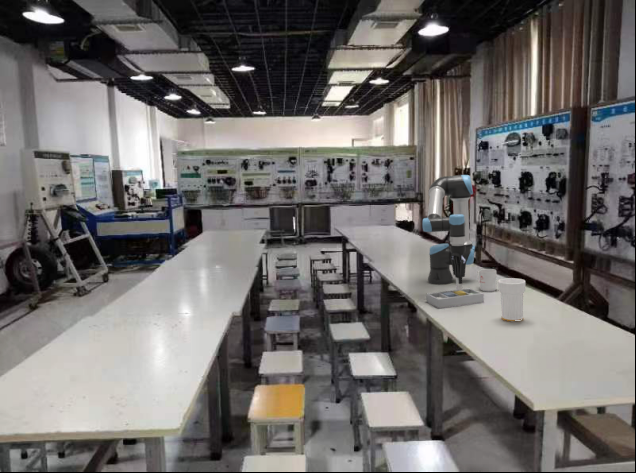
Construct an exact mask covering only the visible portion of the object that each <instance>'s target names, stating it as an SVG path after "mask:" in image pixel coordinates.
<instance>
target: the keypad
mask: <svg viewBox="0 0 636 473" xmlns="http://www.w3.org/2000/svg"><path fill="white" fill-rule="evenodd" d="M456 291H463V292H466V295H463V296H460V295H457V294H455V293H454V292H456ZM448 292H452V293H454V294H455V297H448V296H446V295H444V294H443V293H448ZM469 293H473V294H469ZM484 296H485V293H483V292H481V291H477V290H475V289H473V288H470V287H467V288H463V290H456V289H452V290H450V289H449V290H444V291H443V290H442V291H435V292H428V293H426V294H425V297H426V298H425V299H426V303H427V304H429V305H431V306H432V307H435V308H437V309H445V308H452V307H458V306H460V307H461V306H469V305H475V304H482V303H483V304H484V303H485V298H484ZM437 297H441V298H440V299H438V298H437Z"/></svg>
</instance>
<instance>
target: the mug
mask: <svg viewBox="0 0 636 473" xmlns="http://www.w3.org/2000/svg"><path fill="white" fill-rule="evenodd" d="M476 272H477V282H478V283H479V289H480V290H481V291H482V292H487V293H488V292H495V291H496V290H497V289H498V287H497V286H498V285H497V284H498V280H497V270H496V269H493V268H483V269H479V271H476Z"/></svg>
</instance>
